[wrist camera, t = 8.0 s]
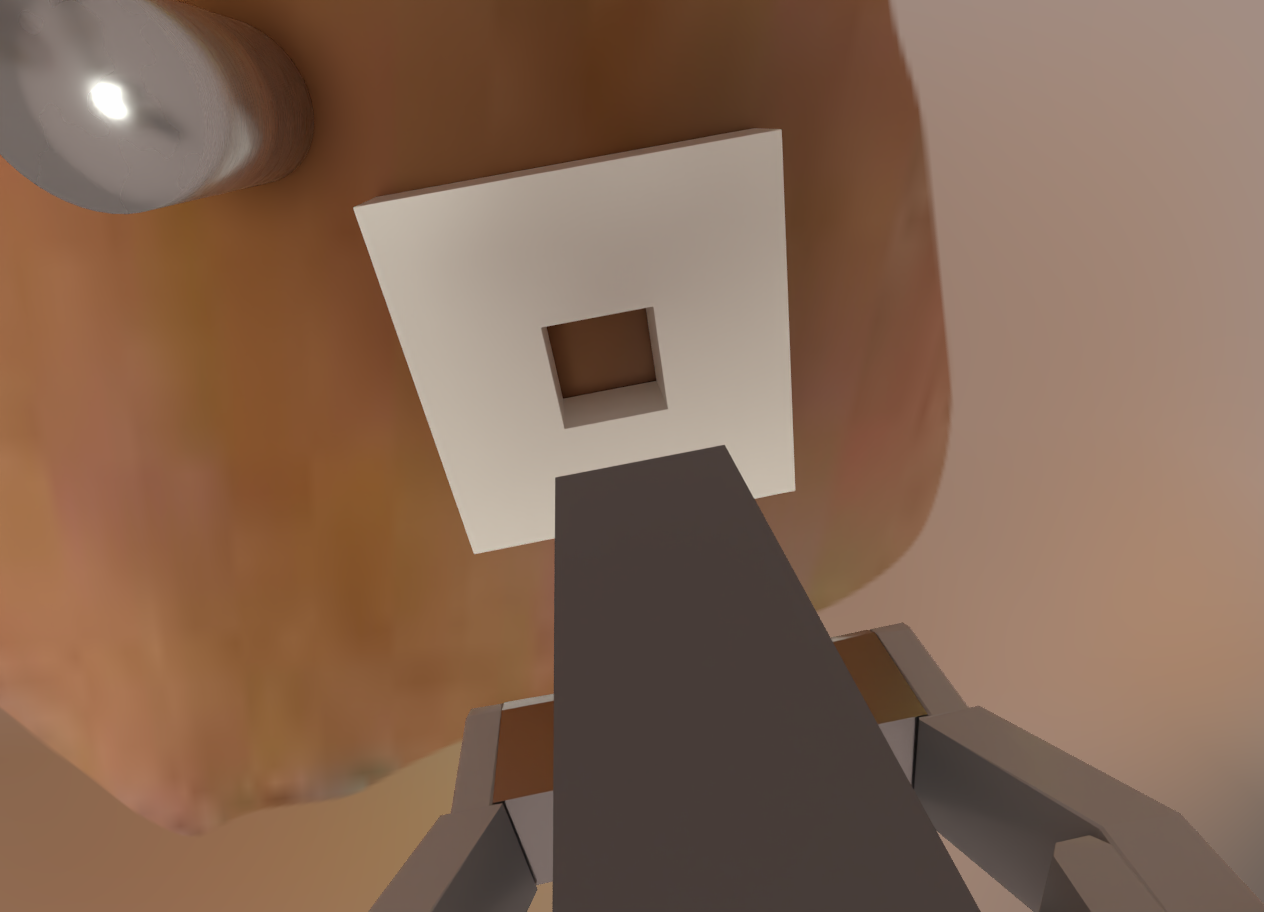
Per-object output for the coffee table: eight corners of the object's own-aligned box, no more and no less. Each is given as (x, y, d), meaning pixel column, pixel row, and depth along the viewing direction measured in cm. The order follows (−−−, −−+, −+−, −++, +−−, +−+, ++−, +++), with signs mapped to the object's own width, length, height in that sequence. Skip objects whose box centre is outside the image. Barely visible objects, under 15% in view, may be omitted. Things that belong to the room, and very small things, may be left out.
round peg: (121, 30, 23) (-107, -18, 15) (277, 3, 23) (133, -58, 15) (197, 195, 25) (38, 230, 17) (336, 170, 26) (240, 194, 18)
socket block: (376, 197, 26) (352, 207, 23) (754, 128, 26) (781, 129, 23) (481, 514, 34) (473, 554, 31) (773, 457, 34) (795, 490, 31)
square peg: (555, 477, 13) (551, 1043, 5) (724, 444, 13) (1000, 946, 5) (588, 609, 14) (627, 1199, 6) (738, 579, 14) (963, 1125, 6)
